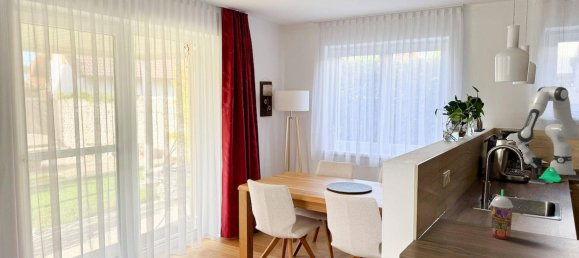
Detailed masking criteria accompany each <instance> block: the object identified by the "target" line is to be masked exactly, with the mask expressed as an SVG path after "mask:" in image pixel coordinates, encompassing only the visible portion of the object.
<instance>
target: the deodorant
mask: <svg viewBox="0 0 579 258" xmlns="http://www.w3.org/2000/svg"><path fill="white" fill-rule="evenodd" d="M532 158H533V160H534V161H533V163H534V164H535V165H537V167H536V168H535V167H533V166H532V165H531V166H532V167H531V178H539V177H541V175H542V167H543V166H542V165H543V162H542V161H543V157H540V156H539V157H538V156H536V157H532Z"/></svg>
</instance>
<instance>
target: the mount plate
mask: <svg viewBox="0 0 579 258" xmlns="http://www.w3.org/2000/svg"><path fill="white" fill-rule="evenodd" d="M528 183H530V184H538V185H546V184H547V183H549V182H548V181H546V180H545V179H540V178H532V177H531V178H530V180H529V181H528Z"/></svg>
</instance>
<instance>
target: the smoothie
mask: <svg viewBox="0 0 579 258" xmlns="http://www.w3.org/2000/svg"><path fill="white" fill-rule="evenodd" d="M500 192H501V193H500V195H498V196H496V197H494V198H493V199H492V200H491V202H490V224H491V225H490V226H491V227H490V228H491V230H490V231H491V234H492V236H493V237H494V238H496V239H499V240H500V239H501V240H505V239H506V240H507V239H509V236H511V231H512V230H511V229H512V220H513V210H514V205H513V203H512V201H511V199H509V197H507V196H504V189H501V191H500Z"/></svg>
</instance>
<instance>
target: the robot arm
mask: <svg viewBox="0 0 579 258" xmlns="http://www.w3.org/2000/svg"><path fill="white" fill-rule="evenodd" d="M549 102H552V110H553V118H554V119H555V120H557V121H559V122H560V123H551V124H547V125H546V127H545V128H544V133H545V135H546V136H547V137H548V138H550V140H551V142H552V144H553V156H552V161H550V166H549V167H554V169H555V170H556V172H557V173H558V175H564V176H565V175H566V176H567V175H568V176H576V175H577V173H576V171H575V168H574V163H573V162H572V159H573V158H572V157H573V156H572V146H571V144H569V143H567V142H566V141H565V139H571V140H573V139H579V124H578V123H577V122H576V121H575V119H574V118H573V116H572V109H571V102H570V97H569V91H568V89H567V88H566V87H563V86H552V85H551V86H541V87H539V88H538V90H537V91H536V92H535V93H534V94H533V96H532V98H531V100H530V102H529V105H528V108H527V118H526V120H525V123H524V125H523V127H522V128H521V129H519V130H518V131H517V132H516V133H509V134H508V135H507V136H506V137H505V139H507V140H513V141H515V142H516V145H517V146H518V148H519V149H520V150H521V152H522V154H523V157H524V161H523V162H524V163H525V164H526V165H531V166H533V167H535V168H536V167H537V165H535V164H534V163H533V161H534V160H533V158H532V157H537V156H536V155H535V154H534V153H533V152H532V150H531V149H530V148H529V147H527V145H528V144H529V143H531V142H532V141H533V139H534V128H535V125H536V123H537V121H538V119H539V118H540V117H541V116H543V115H544V113H545V111H546V109H547V107H548V103H549ZM520 141H521V142H522V143H521V142H520ZM549 170H550V171H552V169H549Z"/></svg>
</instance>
